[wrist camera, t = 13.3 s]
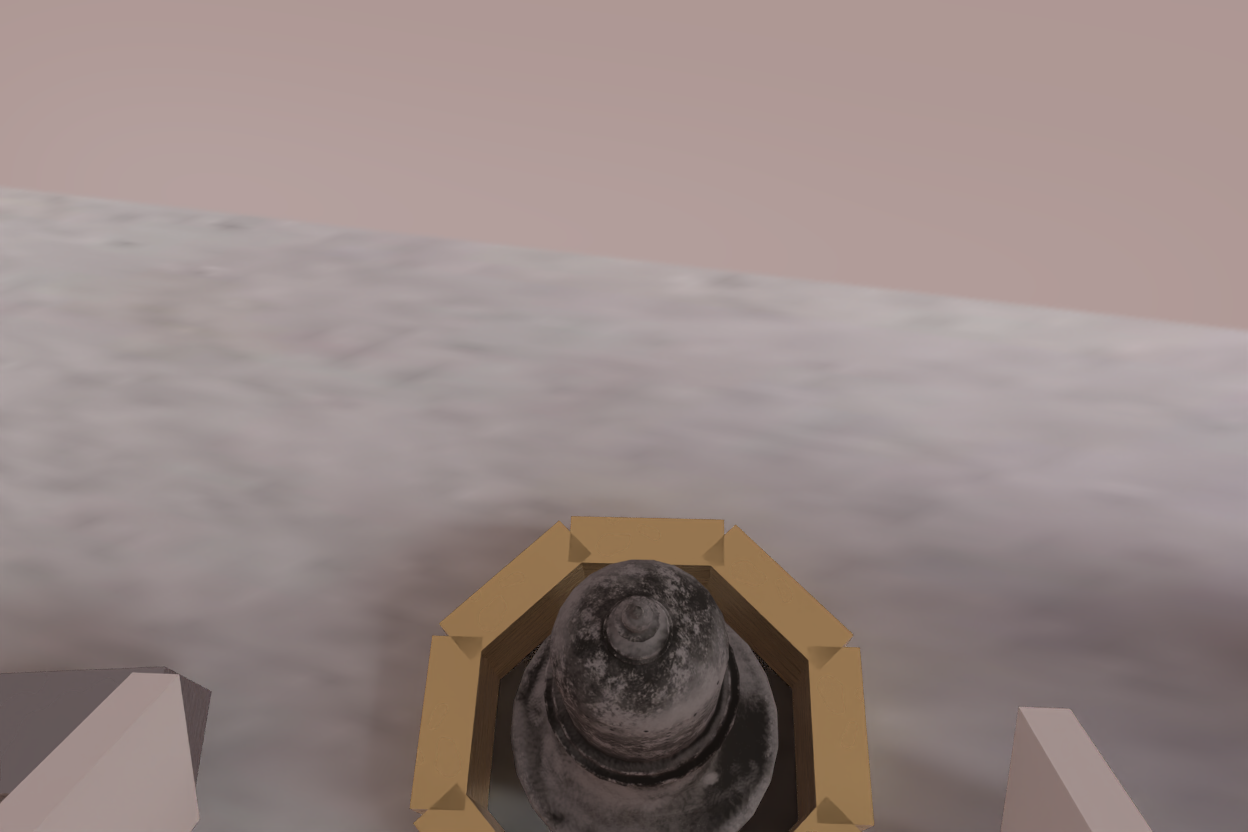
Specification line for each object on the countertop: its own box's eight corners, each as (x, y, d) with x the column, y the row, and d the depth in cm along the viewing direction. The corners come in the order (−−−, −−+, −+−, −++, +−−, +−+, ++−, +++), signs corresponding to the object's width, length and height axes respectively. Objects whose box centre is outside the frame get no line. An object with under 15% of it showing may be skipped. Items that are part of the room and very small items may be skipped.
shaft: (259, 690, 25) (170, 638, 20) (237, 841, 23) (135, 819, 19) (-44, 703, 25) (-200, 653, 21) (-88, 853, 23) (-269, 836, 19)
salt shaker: (500, 681, 25) (385, 501, 14) (707, 603, 26) (743, 377, 15) (573, 919, 22) (499, 912, 12) (802, 823, 23) (925, 735, 13)
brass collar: (830, 563, 26) (850, 522, 24) (859, 986, 22) (887, 995, 19) (469, 554, 27) (448, 513, 24) (420, 968, 22) (387, 973, 19)
